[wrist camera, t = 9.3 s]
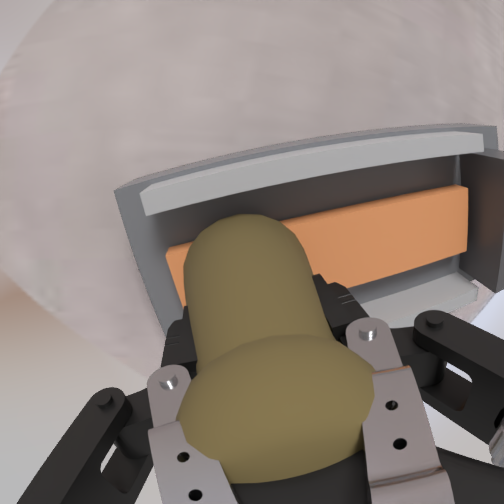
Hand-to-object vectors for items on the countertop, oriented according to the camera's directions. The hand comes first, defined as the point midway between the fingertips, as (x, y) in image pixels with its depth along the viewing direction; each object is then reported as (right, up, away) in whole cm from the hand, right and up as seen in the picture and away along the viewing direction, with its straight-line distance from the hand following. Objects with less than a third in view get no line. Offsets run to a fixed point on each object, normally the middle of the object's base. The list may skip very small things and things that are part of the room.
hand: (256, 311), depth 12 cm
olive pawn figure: (0, +1, +3) cm, 3 cm away
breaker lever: (+4, +3, +4) cm, 7 cm away
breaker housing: (+5, +4, +8) cm, 11 cm away
